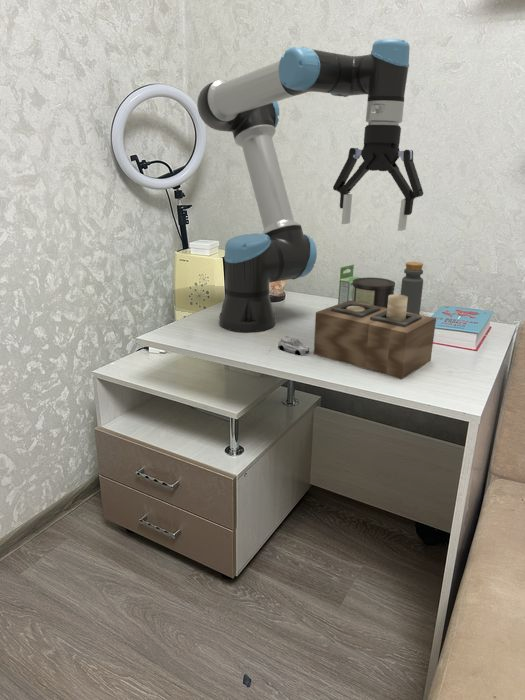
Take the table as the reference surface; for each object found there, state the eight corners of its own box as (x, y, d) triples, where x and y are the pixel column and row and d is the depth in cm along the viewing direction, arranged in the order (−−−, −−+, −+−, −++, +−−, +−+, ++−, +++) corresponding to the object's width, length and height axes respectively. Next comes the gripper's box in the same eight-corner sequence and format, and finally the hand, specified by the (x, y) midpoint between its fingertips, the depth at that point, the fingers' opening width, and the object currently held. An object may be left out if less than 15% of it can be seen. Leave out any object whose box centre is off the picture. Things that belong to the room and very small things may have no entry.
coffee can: (389, 331, 138) (394, 278, 133) (390, 344, 128) (396, 287, 123) (349, 328, 140) (353, 276, 135) (347, 340, 130) (351, 284, 125)
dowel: (381, 337, 114) (385, 296, 111) (390, 333, 117) (393, 293, 114) (398, 341, 112) (402, 300, 109) (406, 336, 115) (411, 296, 111)
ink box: (348, 315, 151) (351, 269, 146) (336, 313, 154) (339, 267, 149) (361, 311, 156) (365, 266, 151) (350, 308, 158) (353, 264, 154)
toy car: (303, 358, 119) (303, 345, 118) (276, 349, 124) (276, 337, 123) (312, 353, 122) (313, 341, 121) (285, 345, 127) (286, 334, 126)
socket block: (313, 353, 121) (315, 309, 118) (346, 339, 131) (349, 297, 128) (401, 379, 108) (407, 329, 104) (430, 360, 118) (436, 315, 114)
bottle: (394, 314, 153) (399, 262, 147) (406, 311, 156) (411, 260, 151) (411, 319, 148) (417, 266, 143) (423, 315, 152) (429, 263, 147)
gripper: (322, 123, 115) (316, 222, 122) (436, 123, 102) (421, 234, 109) (338, 124, 120) (331, 219, 128) (448, 125, 107) (432, 230, 115)
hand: (372, 226), depth 119 cm, fingers open, 13 cm apart
